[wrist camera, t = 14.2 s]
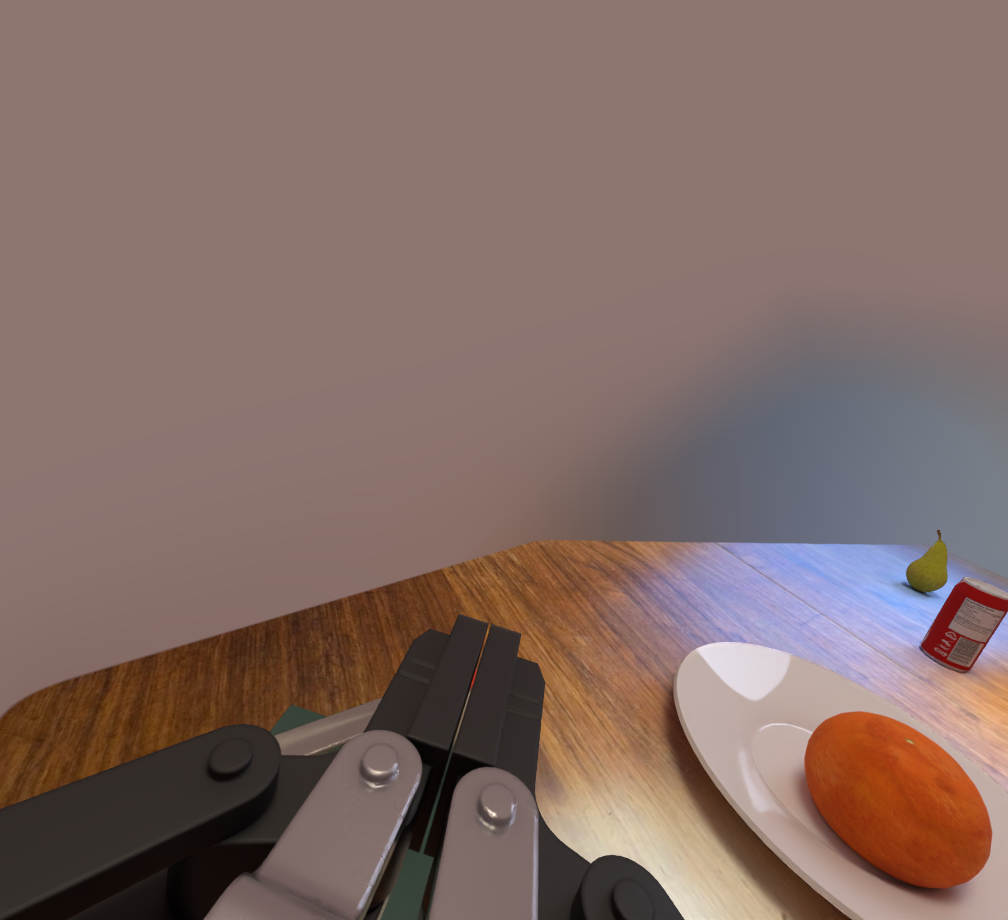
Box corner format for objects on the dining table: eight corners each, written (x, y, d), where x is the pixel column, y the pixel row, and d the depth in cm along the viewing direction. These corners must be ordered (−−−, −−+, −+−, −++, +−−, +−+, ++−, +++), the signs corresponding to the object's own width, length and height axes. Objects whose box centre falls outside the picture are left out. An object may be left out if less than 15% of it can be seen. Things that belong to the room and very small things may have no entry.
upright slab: (234, 899, 21) (250, 773, 19) (226, 863, 22) (241, 741, 20) (460, 778, 29) (489, 680, 27) (446, 756, 30) (472, 661, 28)
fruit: (935, 601, 88) (969, 544, 85) (897, 584, 92) (928, 529, 89) (938, 595, 92) (970, 540, 89) (901, 578, 96) (931, 525, 93)
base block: (64, 998, 19) (63, 946, 18) (296, 700, 34) (302, 664, 34) (454, 1160, 18) (473, 1113, 17) (513, 774, 33) (524, 739, 32)
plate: (645, 636, 53) (672, 569, 51) (907, 722, 50) (948, 656, 48) (696, 931, 27) (757, 821, 24) (1261, 1153, 24) (1394, 1052, 21)
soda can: (940, 648, 70) (984, 577, 66) (979, 676, 65) (1028, 601, 61) (909, 643, 69) (951, 571, 66) (945, 670, 64) (993, 593, 60)
